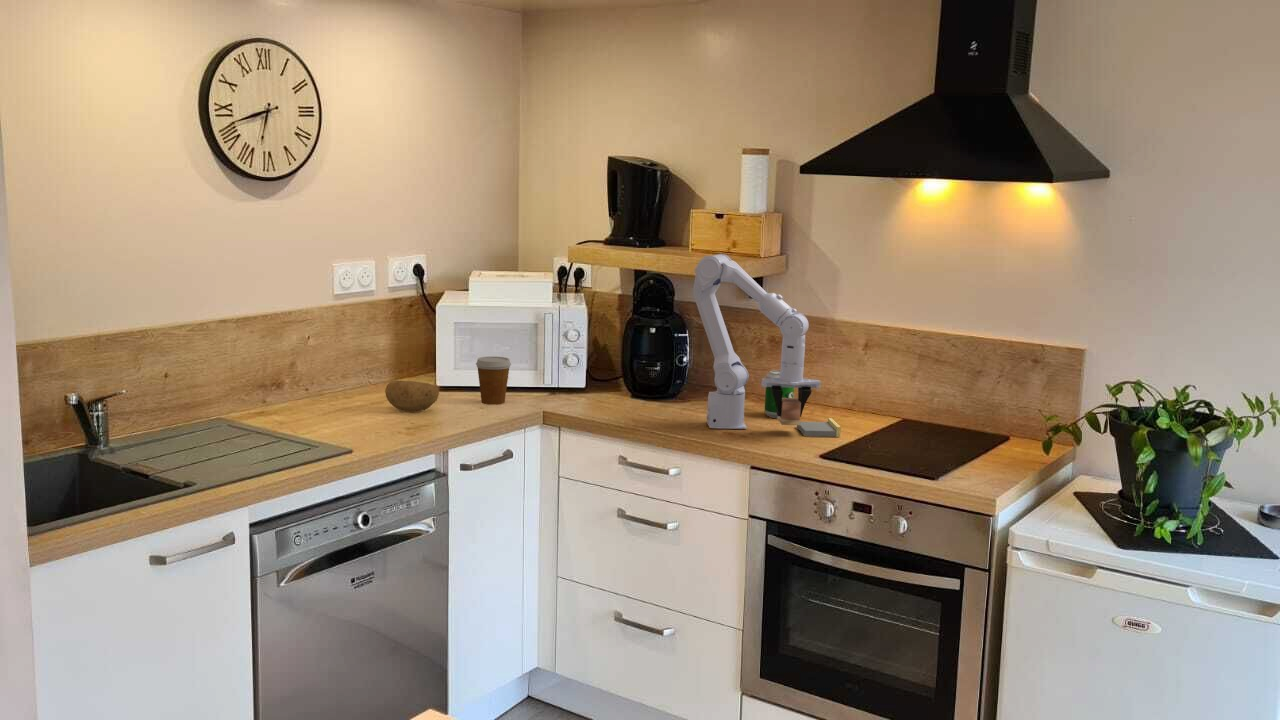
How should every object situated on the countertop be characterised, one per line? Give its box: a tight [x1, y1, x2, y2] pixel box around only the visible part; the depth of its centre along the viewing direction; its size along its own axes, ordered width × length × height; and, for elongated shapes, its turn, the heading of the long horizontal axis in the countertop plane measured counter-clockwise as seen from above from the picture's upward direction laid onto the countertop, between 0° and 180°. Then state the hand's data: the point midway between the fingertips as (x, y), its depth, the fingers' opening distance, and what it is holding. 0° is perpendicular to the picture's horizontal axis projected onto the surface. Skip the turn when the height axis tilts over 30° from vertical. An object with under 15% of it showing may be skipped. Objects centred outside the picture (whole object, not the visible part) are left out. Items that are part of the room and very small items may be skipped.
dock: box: [796, 417, 842, 438], centre depth 285 cm, size 9×10×3 cm
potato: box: [384, 380, 440, 413], centre depth 293 cm, size 10×14×8 cm
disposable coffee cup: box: [475, 356, 512, 405], centre depth 306 cm, size 10×10×12 cm
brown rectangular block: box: [776, 397, 801, 426], centre depth 281 cm, size 4×6×6 cm
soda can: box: [764, 369, 795, 419], centre depth 301 cm, size 8×8×12 cm
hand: (788, 415), depth 282 cm, fingers closed on brown rectangular block, 4 cm apart
